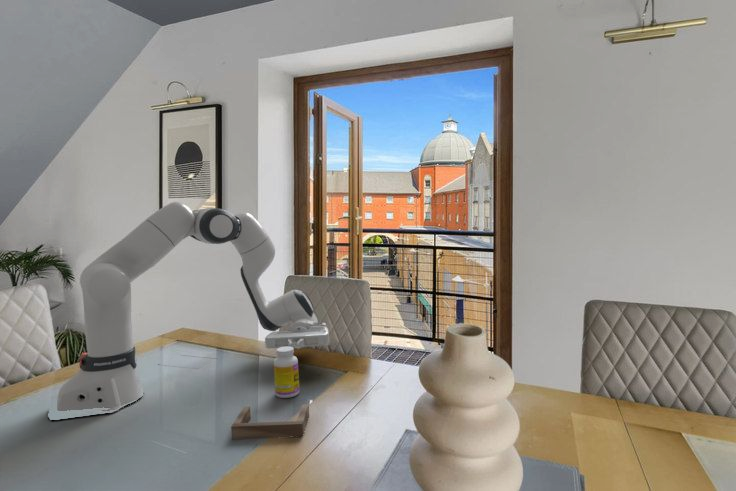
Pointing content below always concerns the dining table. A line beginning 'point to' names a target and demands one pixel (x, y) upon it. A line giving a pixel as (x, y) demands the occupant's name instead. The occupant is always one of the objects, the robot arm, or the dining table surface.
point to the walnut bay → (268, 426)
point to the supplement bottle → (286, 373)
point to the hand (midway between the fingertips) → (293, 346)
